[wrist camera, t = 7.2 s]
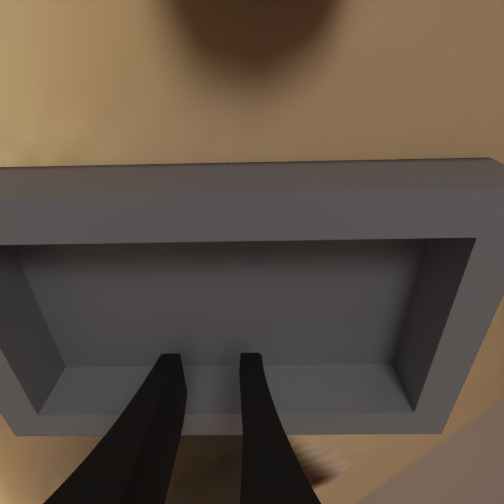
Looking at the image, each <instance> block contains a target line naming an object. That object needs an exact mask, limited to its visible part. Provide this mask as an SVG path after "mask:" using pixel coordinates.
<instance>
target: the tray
mask: <svg viewBox="0 0 504 504" xmlns="http://www.w3.org/2000/svg"><path fill="white" fill-rule="evenodd" d="M503 294H504V164H502V163H500V162H498V161H496V160H494V159H491V158H449V159H399V160H348V161H298V162H247V163H197V164H146V165H96V166H46V167H0V412H1V414H2V416H3V417H4V419H5V420H6V422H7V423H8V425H9V426H10V428H11V429H12V431H13V433H14V434H15V436H105V435H106V433H107V432H108V431H109V429H110V428H111V427H112V425H113V424H114V423H115V422H116V420H117V419H118V418H119V416H120V415H121V414H122V412H123V411H124V410H125V408H126V407H127V405H128V404H129V403H130V401H131V400H132V398H133V397H134V395H135V394H136V393H137V391H138V390H139V388H140V387H141V385H142V384H143V382H144V381H145V379H146V378H147V376H148V374H149V373H150V371H151V370H152V368H153V366H154V365H155V363H156V361H157V360H158V358H159V356H160V355H161V354H173V353H180V355H181V360H182V366H183V371H184V376H185V382H186V387H187V400H186V409H185V416H184V423H183V428H182V432H181V435H243V429H242V412H241V396H240V380H239V366H240V354H241V353H260V354H261V355H262V362H263V368H264V373H265V377H266V381H267V384H268V388H269V391H270V394H271V397H272V400H273V403H274V406H275V408H276V411H277V414H278V417H279V419H280V422H281V424H282V427H283V429H284V431H285V434H286V435H314V434H442V431H443V429H444V427H445V425H446V422H447V420H448V418H449V416H450V413H451V411H452V409H453V407H454V404H455V402H456V400H457V398H458V395H459V393H460V391H461V389H462V386H463V384H464V382H465V380H466V377H467V375H468V373H469V371H470V368H471V366H472V364H473V362H474V359H475V357H476V355H477V353H478V350H479V348H480V346H481V344H482V342H483V339H484V337H485V335H486V333H487V330H488V328H489V326H490V324H491V321H492V319H493V317H494V315H495V312H496V310H497V308H498V306H499V303H500V301H501V299H502V297H503Z"/></svg>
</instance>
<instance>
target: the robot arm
mask: <svg viewBox="0 0 504 504" xmlns="http://www.w3.org/2000/svg"><path fill="white" fill-rule="evenodd" d="M239 380H240V396H241V412H242V429H243V453H242V477H241V498H240V504H321V503H320V501H319V499H318V498H317V496H316V494H315V493H314V491H313V489H312V487H311V485H310V483H309V481H308V479H307V478H306V476H305V474H304V472H303V470H302V468H301V466H300V464H299V462H298V460H297V458H296V456H295V454H294V452H293V449H292V447H291V445H290V443H289V441H288V438H287V436H286V434H285V431H284V429H283V427H282V424H281V422H280V419H279V417H278V414H277V411H276V408H275V406H274V403H273V400H272V397H271V394H270V391H269V388H268V384H267V381H266V377H265V373H264V368H263V362H262V355H261V354H260V353H241V354H240V366H239ZM186 400H187V387H186V382H185V376H184V371H183V366H182V360H181V355H180V353H173V354H161V355H160V356H159V358H158V360H157V361H156V363H155V365H154V366H153V368H152V370H151V371H150V373H149V374H148V376H147V378H146V379H145V381H144V382H143V384H142V385H141V387H140V388H139V390H138V391H137V393H136V394H135V395H134V397H133V398H132V400H131V401H130V403H129V404H128V405H127V407H126V408H125V410H124V411H123V412H122V414H121V415H120V416H119V418H118V419H117V420H116V422H115V423H114V424H113V425H112V427H111V428H110V429H109V431H108V432H107V433H106V435H105V436H104V437H103V438H102V440H101V441H100V442H99V443H98V444H97V446H96V447H95V448H94V449H93V450H92V452H91V453H90V454H89V455H88V456H87V457H86V459H85V460H84V461H83V462H82V463H81V464H80V465H79V467H78V468H77V469H76V470H75V471H74V472H73V473H72V474H71V475H70V476H69V477H68V478H67V480H66V481H65V482H64V483H63V484H62V485H61V486H60V487H59V488H58V489H57V490H56V491H55V492H54V493H53V494H52V495H51V496H50V497H49V498H48V499H47V500H46V501H45V502H44V503H43V504H165V499H166V494H167V490H168V486H169V482H170V478H171V474H172V470H173V465H174V461H175V457H176V453H177V449H178V445H179V440H180V436H181V432H182V428H183V423H184V416H185V409H186Z"/></svg>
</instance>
